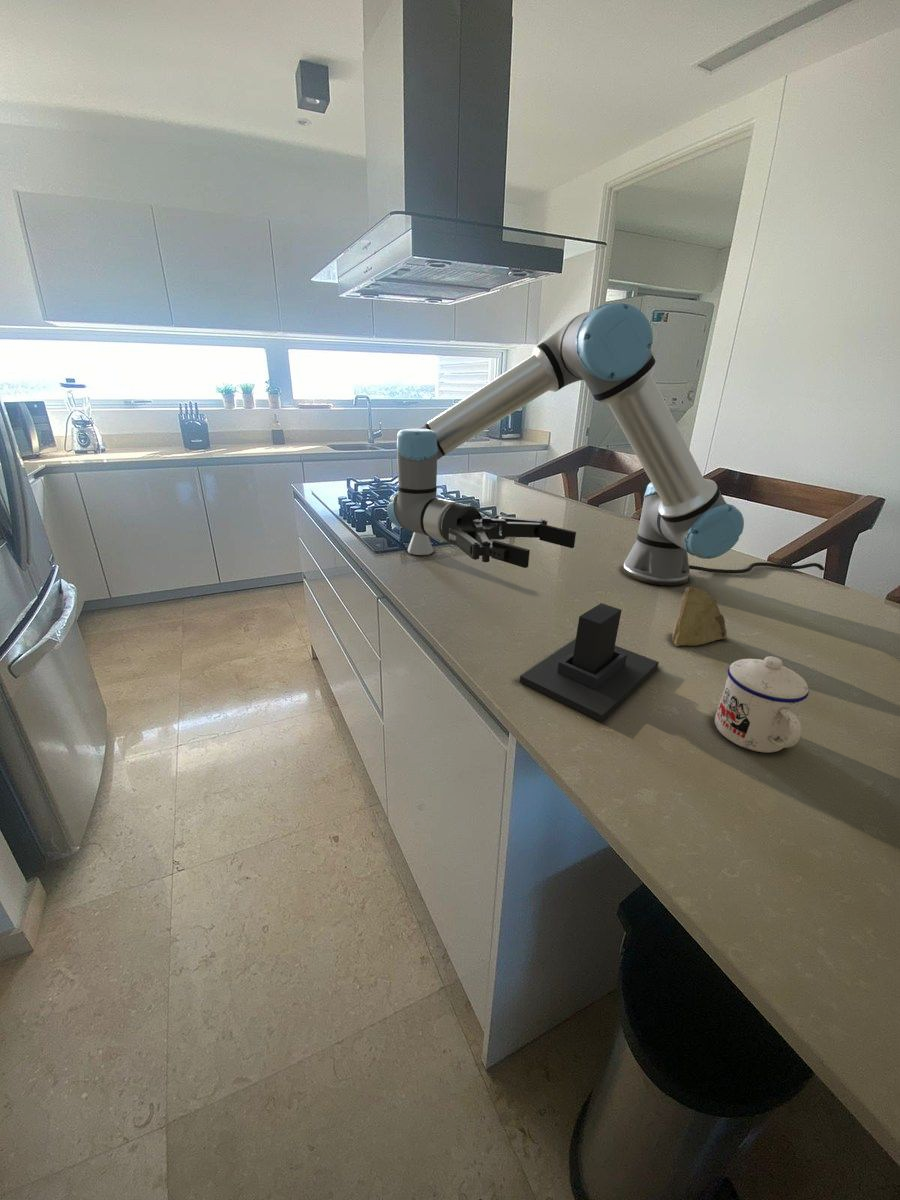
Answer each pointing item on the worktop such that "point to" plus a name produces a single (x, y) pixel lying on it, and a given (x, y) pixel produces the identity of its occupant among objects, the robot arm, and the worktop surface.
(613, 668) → the base pad
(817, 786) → the worktop surface
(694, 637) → the rock
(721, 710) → the teacup with lid
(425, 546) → the flask
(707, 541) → the robot arm
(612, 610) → the black block
